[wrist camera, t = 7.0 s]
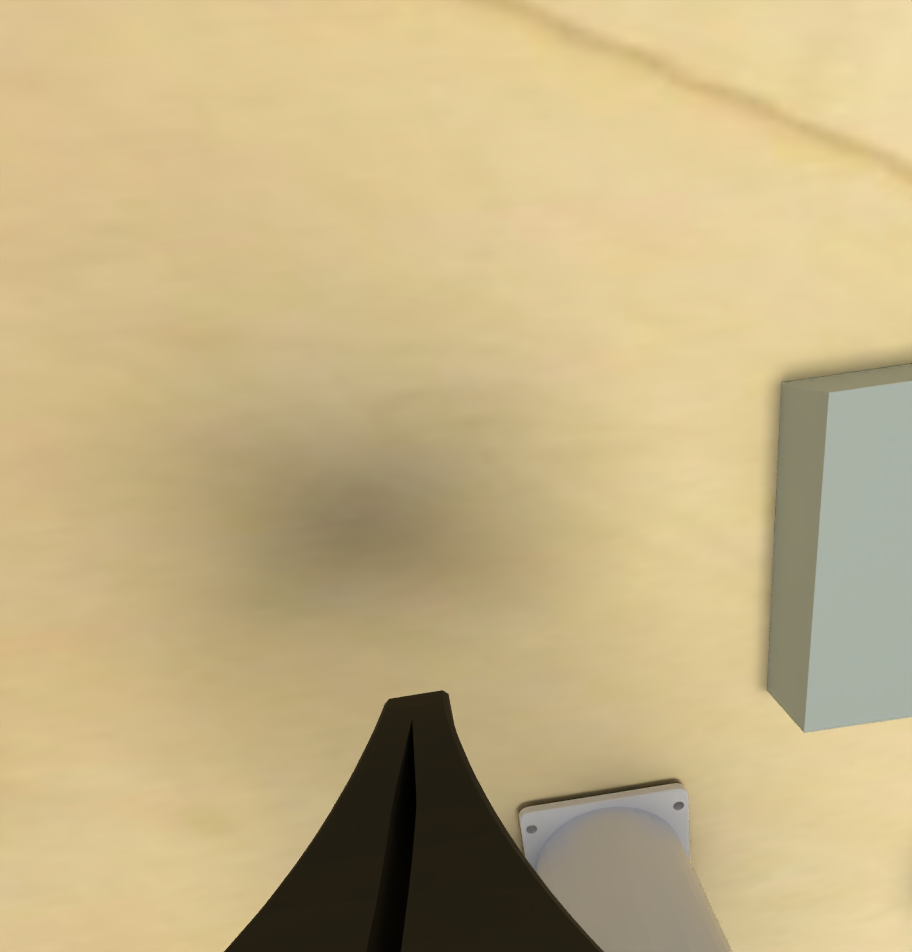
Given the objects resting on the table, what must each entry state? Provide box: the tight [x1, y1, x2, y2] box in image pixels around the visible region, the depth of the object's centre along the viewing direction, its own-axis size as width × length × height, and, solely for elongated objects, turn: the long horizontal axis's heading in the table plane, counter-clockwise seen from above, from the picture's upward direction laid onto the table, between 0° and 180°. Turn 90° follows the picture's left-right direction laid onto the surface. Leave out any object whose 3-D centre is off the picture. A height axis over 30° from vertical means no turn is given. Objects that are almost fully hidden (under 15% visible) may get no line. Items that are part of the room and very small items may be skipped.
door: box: [767, 364, 912, 733], centre depth 21 cm, size 14×9×3 cm, turn 8°
